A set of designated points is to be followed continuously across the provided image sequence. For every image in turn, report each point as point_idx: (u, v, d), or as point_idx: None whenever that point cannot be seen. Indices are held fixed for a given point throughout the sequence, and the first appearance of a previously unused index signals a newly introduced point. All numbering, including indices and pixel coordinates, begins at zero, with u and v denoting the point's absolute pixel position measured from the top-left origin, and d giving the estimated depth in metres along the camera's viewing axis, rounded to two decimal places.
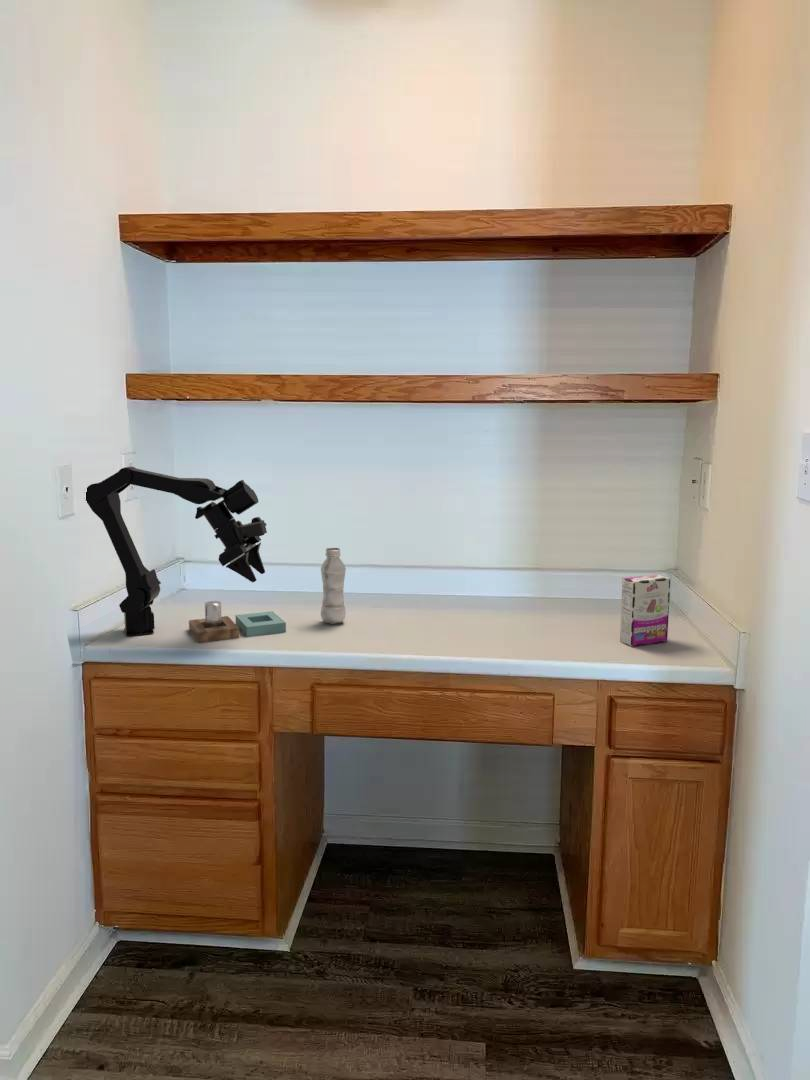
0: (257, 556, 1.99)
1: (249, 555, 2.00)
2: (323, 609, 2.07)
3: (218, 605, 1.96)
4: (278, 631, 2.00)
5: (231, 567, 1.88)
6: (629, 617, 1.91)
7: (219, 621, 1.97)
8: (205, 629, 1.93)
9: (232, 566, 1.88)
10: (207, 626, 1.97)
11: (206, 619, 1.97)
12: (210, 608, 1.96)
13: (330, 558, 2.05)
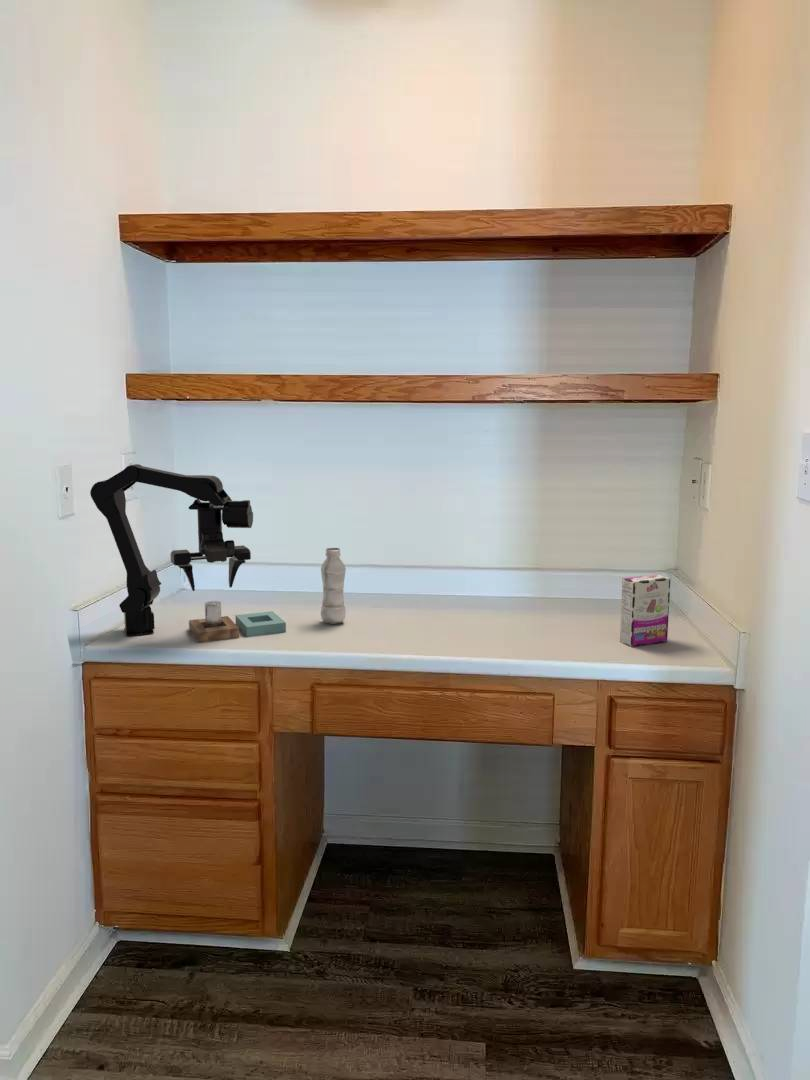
0: (231, 570, 1.97)
1: (230, 564, 1.98)
2: (323, 609, 2.07)
3: (218, 605, 1.96)
4: (278, 631, 2.00)
5: None
6: (629, 617, 1.91)
7: (219, 621, 1.97)
8: (205, 629, 1.93)
9: None
10: (207, 626, 1.97)
11: (206, 619, 1.97)
12: (210, 608, 1.96)
13: (330, 558, 2.05)
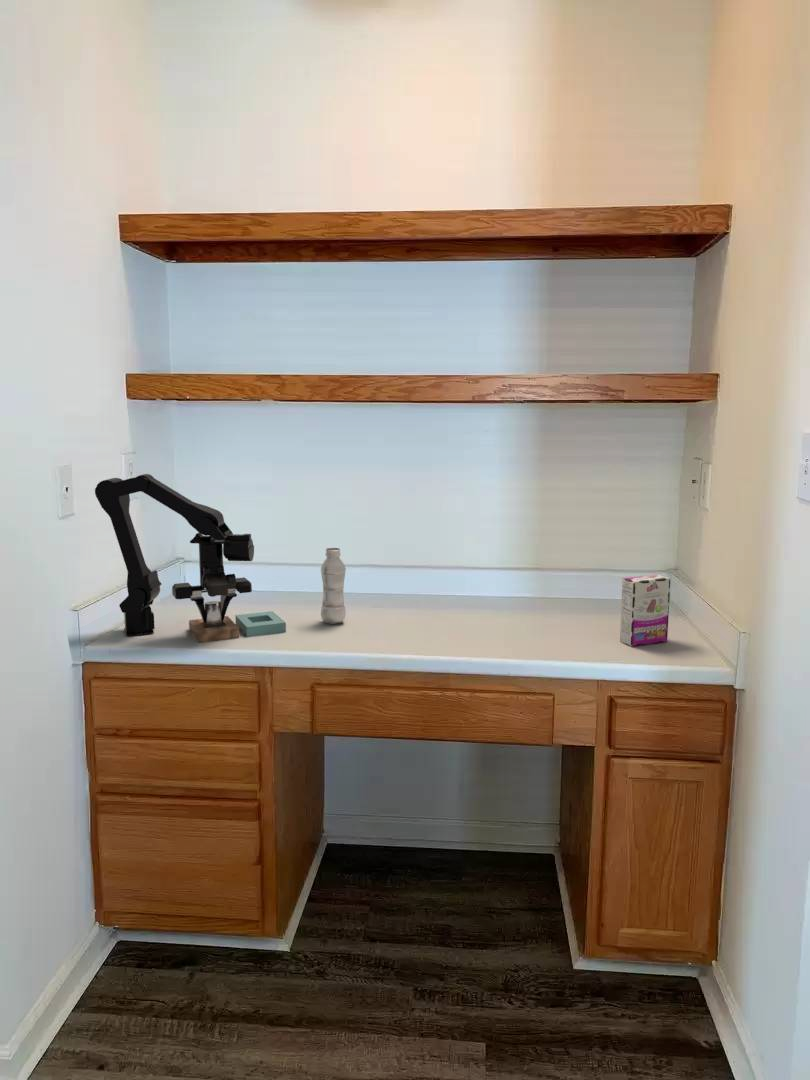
0: (223, 604, 1.98)
1: (222, 597, 1.99)
2: (323, 609, 2.07)
3: (218, 605, 1.96)
4: (278, 631, 2.00)
5: None
6: (629, 617, 1.91)
7: (219, 621, 1.97)
8: (205, 629, 1.93)
9: None
10: (207, 626, 1.97)
11: (206, 619, 1.97)
12: (210, 608, 1.96)
13: (330, 558, 2.05)
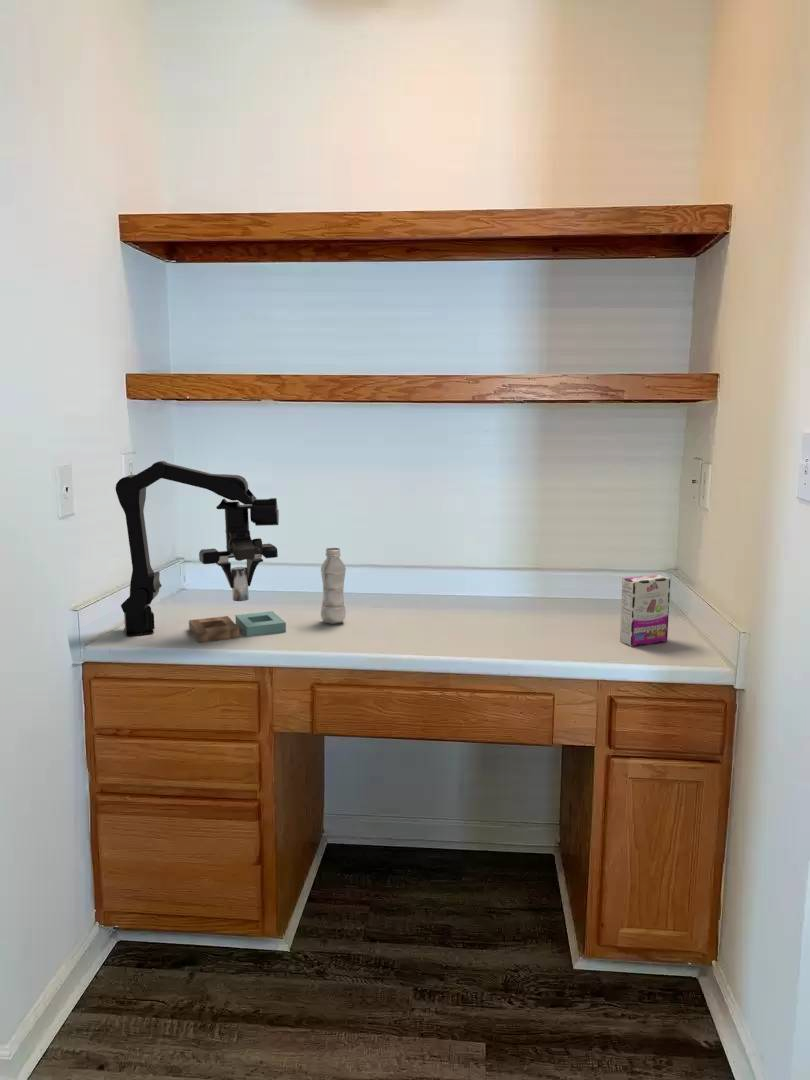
0: (249, 569, 1.99)
1: (248, 563, 2.00)
2: (323, 609, 2.07)
3: (244, 571, 1.98)
4: (278, 631, 2.00)
5: None
6: (629, 617, 1.91)
7: (246, 586, 1.99)
8: (205, 629, 1.93)
9: None
10: (234, 591, 1.98)
11: (233, 584, 1.98)
12: (236, 574, 1.97)
13: (330, 558, 2.05)
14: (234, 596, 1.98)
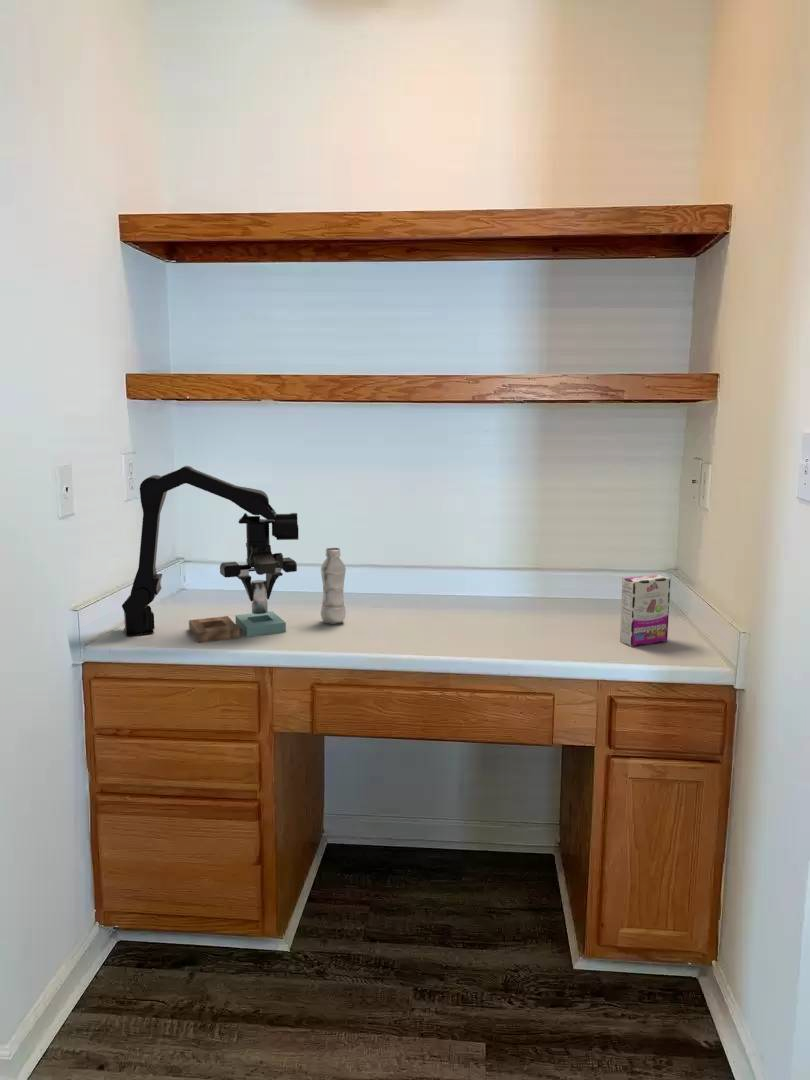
0: (269, 583, 2.02)
1: (267, 576, 2.03)
2: (323, 609, 2.07)
3: (264, 584, 2.01)
4: (278, 631, 2.00)
5: None
6: (629, 617, 1.91)
7: (265, 599, 2.02)
8: (205, 629, 1.93)
9: None
10: (253, 604, 2.01)
11: (253, 597, 2.01)
12: (256, 587, 2.00)
13: (330, 558, 2.05)
14: (253, 609, 2.01)
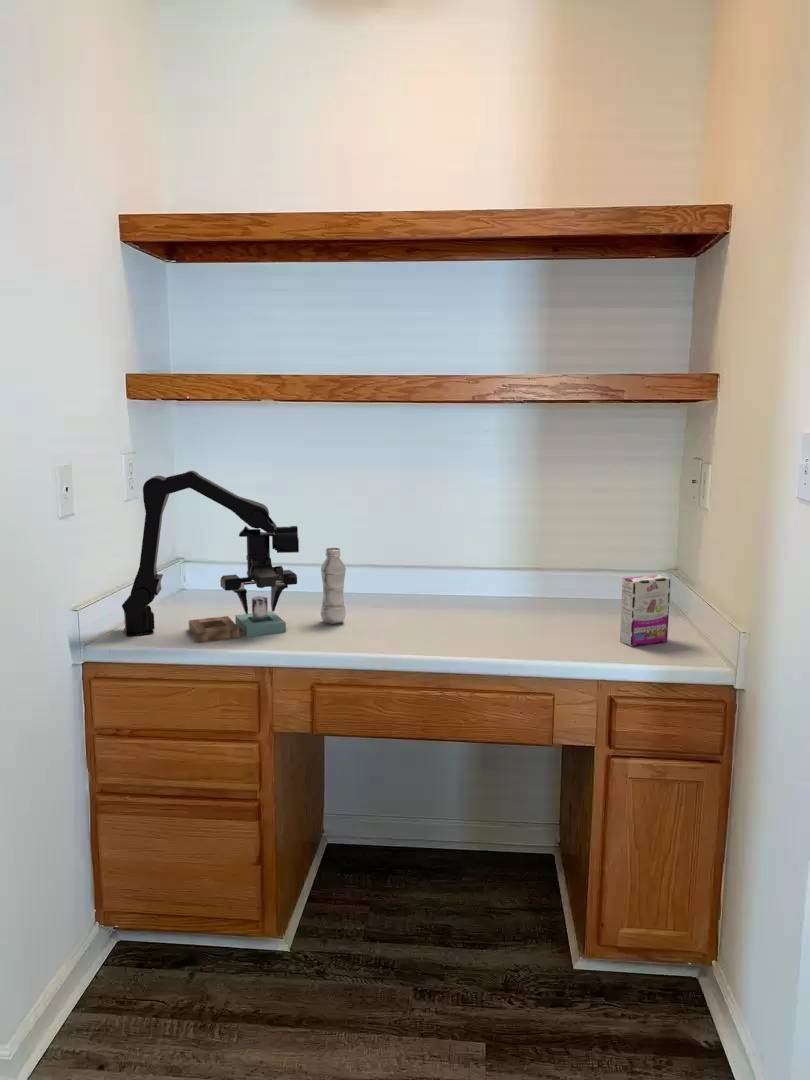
0: (274, 595, 2.03)
1: (273, 589, 2.04)
2: (323, 609, 2.07)
3: (265, 601, 2.01)
4: (278, 631, 2.00)
5: None
6: (629, 617, 1.91)
7: (265, 616, 2.02)
8: (205, 629, 1.93)
9: None
10: (254, 621, 2.02)
11: (253, 614, 2.02)
12: (257, 603, 2.01)
13: (330, 558, 2.05)
14: None
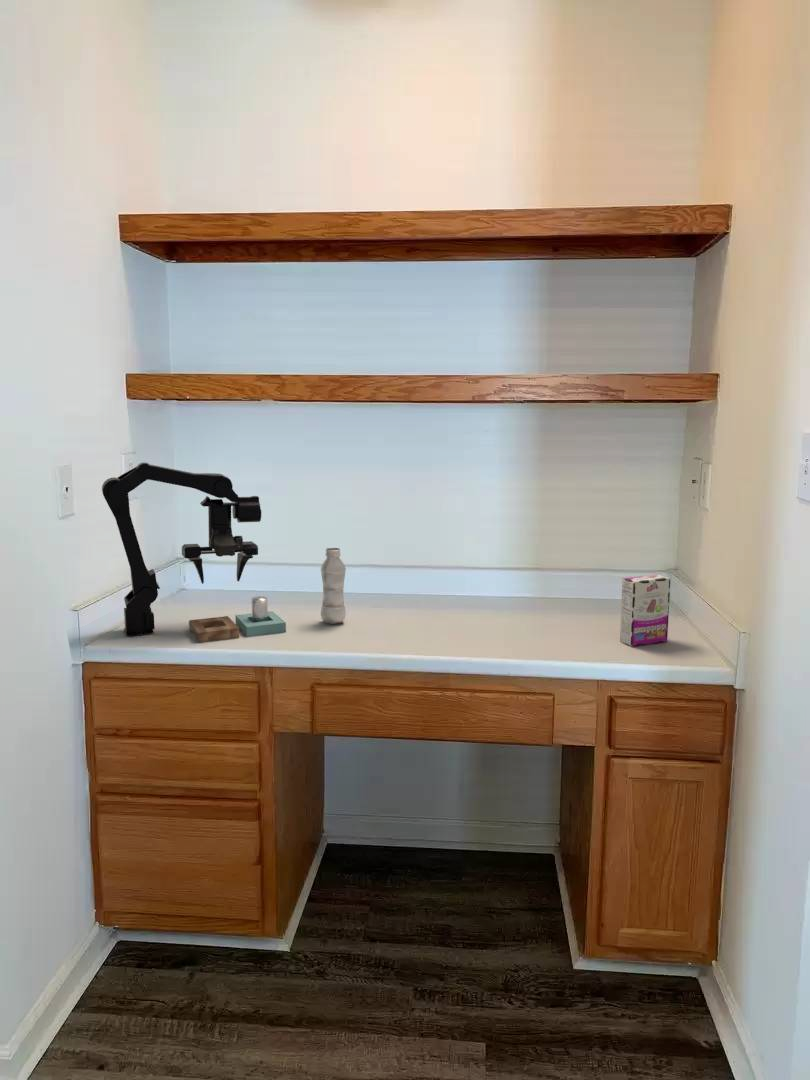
0: (239, 565, 2.06)
1: (238, 559, 2.07)
2: (323, 609, 2.07)
3: (265, 601, 2.01)
4: (278, 631, 2.00)
5: None
6: (629, 617, 1.91)
7: (265, 616, 2.02)
8: (205, 629, 1.93)
9: None
10: (254, 621, 2.02)
11: (253, 614, 2.02)
12: (257, 603, 2.01)
13: (330, 558, 2.05)
14: None
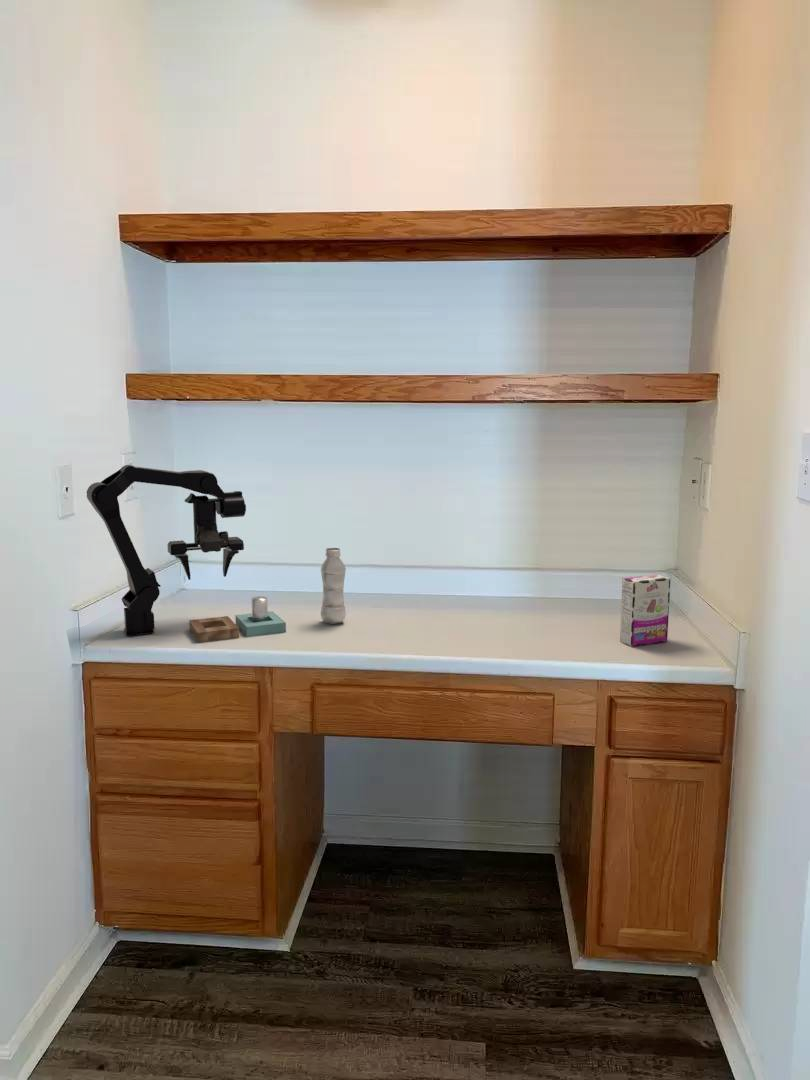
0: (225, 560, 2.07)
1: (224, 554, 2.08)
2: (323, 609, 2.07)
3: (265, 601, 2.01)
4: (278, 631, 2.00)
5: None
6: (629, 617, 1.91)
7: (265, 616, 2.02)
8: (205, 629, 1.93)
9: None
10: (254, 621, 2.02)
11: (253, 614, 2.02)
12: (257, 603, 2.01)
13: (330, 558, 2.05)
14: None
